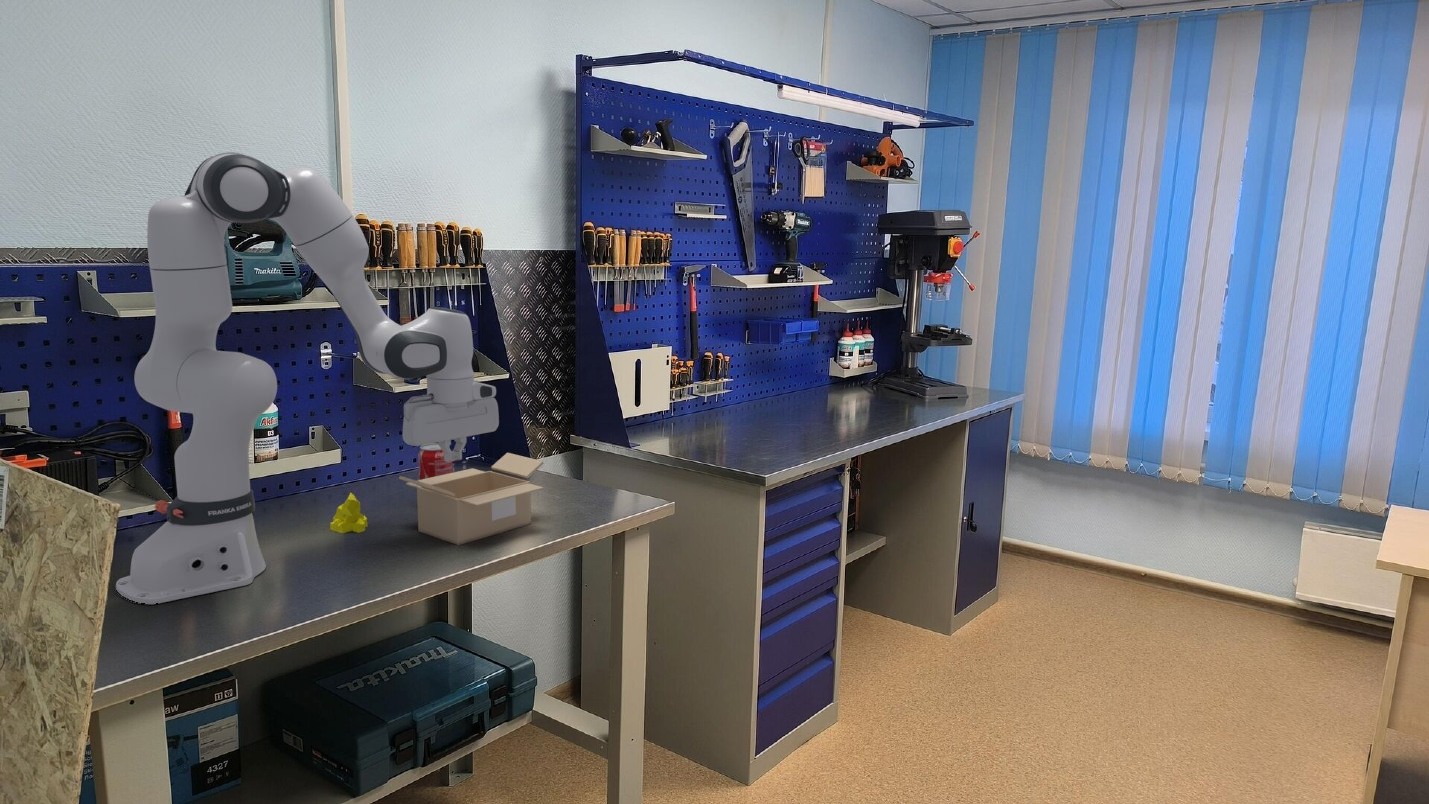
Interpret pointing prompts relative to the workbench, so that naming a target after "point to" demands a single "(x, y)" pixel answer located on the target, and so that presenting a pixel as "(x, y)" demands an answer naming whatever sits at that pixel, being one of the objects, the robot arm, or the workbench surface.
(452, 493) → the near flap
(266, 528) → the workbench surface
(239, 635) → the workbench surface
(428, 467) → the soda can
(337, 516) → the yellow jagged lump
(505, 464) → the far flap
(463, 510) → the carton
